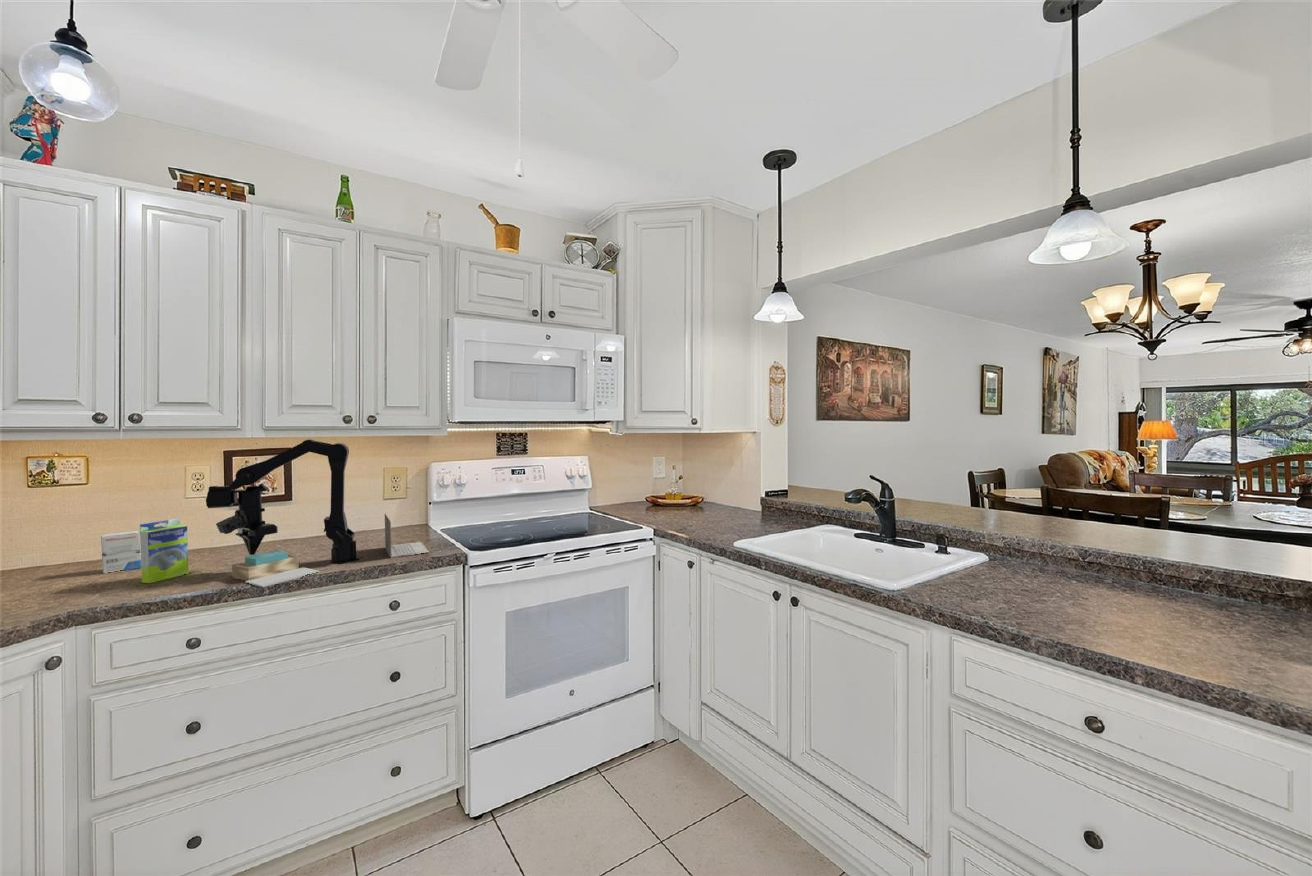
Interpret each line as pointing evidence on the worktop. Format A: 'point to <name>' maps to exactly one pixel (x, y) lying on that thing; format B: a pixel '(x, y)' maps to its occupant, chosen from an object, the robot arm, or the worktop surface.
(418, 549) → the laptop
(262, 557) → the teal rectangular block
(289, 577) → the mat
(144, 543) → the box
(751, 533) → the worktop surface
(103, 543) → the ink box
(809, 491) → the worktop surface
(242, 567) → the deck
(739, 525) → the worktop surface
